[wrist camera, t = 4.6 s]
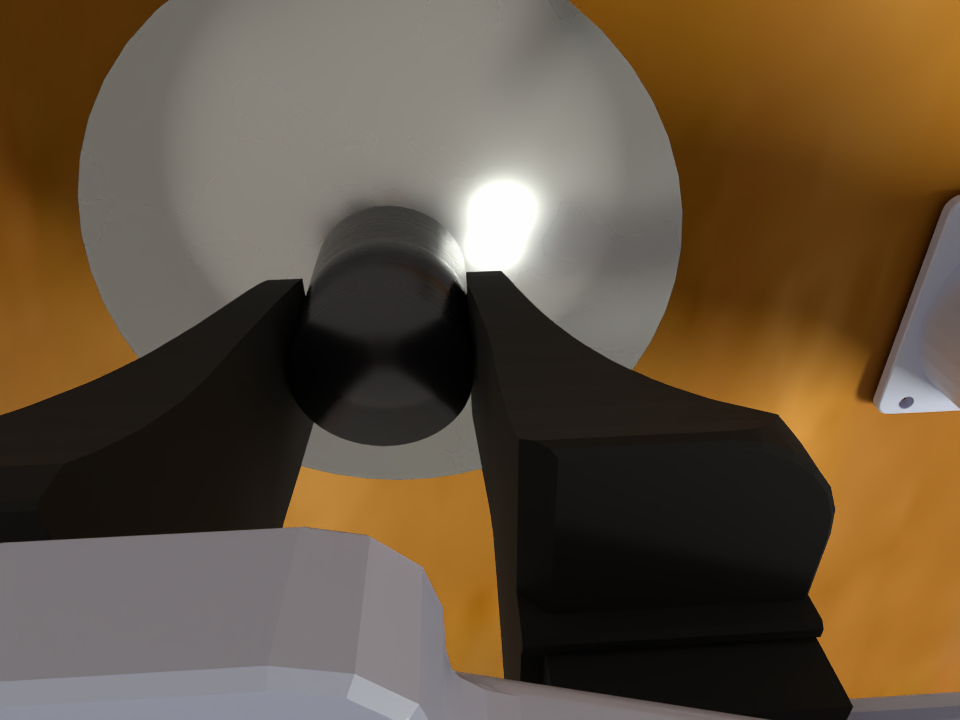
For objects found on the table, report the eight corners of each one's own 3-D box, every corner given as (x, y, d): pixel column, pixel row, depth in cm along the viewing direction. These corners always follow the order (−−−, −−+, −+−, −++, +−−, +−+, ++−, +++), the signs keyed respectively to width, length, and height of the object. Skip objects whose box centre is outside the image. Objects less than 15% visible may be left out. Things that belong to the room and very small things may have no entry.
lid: (738, -52, 10) (872, -19, 7) (617, 456, 17) (660, 593, 14) (3, -94, 10) (-213, -77, 6) (170, 456, 16) (103, 601, 13)
